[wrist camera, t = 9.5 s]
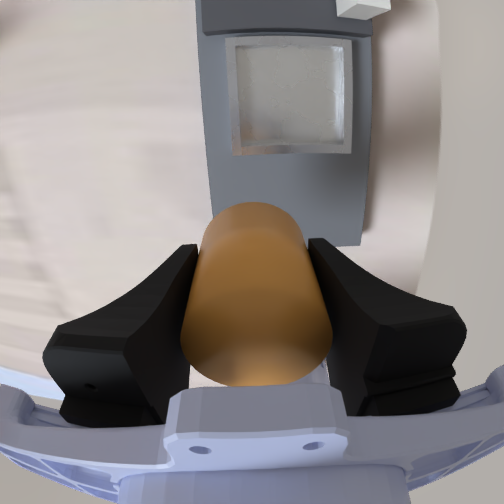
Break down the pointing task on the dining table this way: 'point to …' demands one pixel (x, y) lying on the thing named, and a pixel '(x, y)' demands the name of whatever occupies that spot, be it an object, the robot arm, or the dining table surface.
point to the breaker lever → (362, 8)
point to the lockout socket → (289, 94)
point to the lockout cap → (255, 301)
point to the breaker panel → (294, 164)
